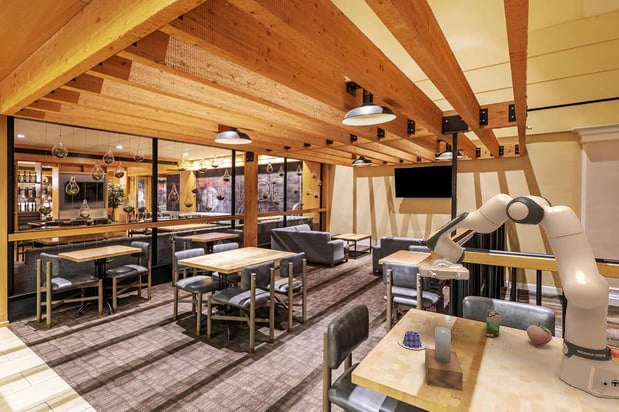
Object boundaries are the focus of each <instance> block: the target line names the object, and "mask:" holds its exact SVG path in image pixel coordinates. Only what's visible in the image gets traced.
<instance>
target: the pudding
mask: <svg viewBox="0 0 619 412" xmlns="http://www.w3.org/2000/svg"><path fill="white" fill-rule="evenodd" d="M397 342H398V345H400V346H401V347H404V348H405V349H406V348H407V349H410V350H415V351H416V350H419V351H420V350H425V348H427V344H426V342H425V341H424V340H422V339H421V337H420V334H419V332H416V331H413V330H407V331H406V332H405V334H404V336H403V337H401V338H399V339H398V341H397Z"/></svg>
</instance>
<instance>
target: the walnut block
mask: <svg viewBox="0 0 619 412" xmlns="http://www.w3.org/2000/svg"><path fill="white" fill-rule="evenodd" d="M424 350H425V351H424V352H425V353H424V354H425V355H424V365H425V372H426V373H425V374H426V380H427V385H430V386H435V387H442V388H447V389H448V388H449V389H452V388H453V390H460V391H463V385H464V384H463V381H464V379H463V377H464V374H463V373H464V372H463V369H462V366H461V364H460V360H459V359H458V358H459V357H458V355H457V352H456V351H452V350H451V362H449V363H441V362H439V361H437V360H436V359H435V348H430V347H425V348H424Z"/></svg>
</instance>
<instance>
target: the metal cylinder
mask: <svg viewBox="0 0 619 412" xmlns="http://www.w3.org/2000/svg"><path fill="white" fill-rule="evenodd" d="M451 332H452V330H451V329H450V328H449V327H445V326H435V328H434V349H435V359H436V360H437V361H439V362H441V363H449V362H451V351H452V341H451V340H452V337H451V336H452V333H451Z"/></svg>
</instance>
